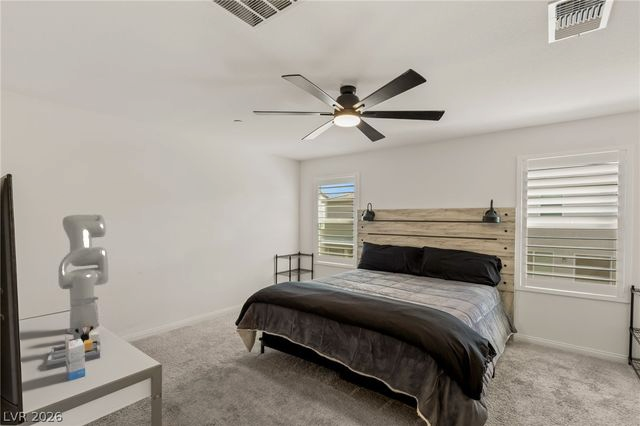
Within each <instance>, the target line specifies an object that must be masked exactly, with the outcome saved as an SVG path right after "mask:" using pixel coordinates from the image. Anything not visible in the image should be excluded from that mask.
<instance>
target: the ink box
mask: <svg viewBox="0 0 640 426" xmlns="http://www.w3.org/2000/svg"><path fill="white" fill-rule="evenodd" d="M64 338H65V344H64V345H65V346H66V366H65V373H66V377H67V378H68V381H73V380H76V379H79V378H82V377H84V376H86V361H85V348H84V343H83V341H82V340H81V339H77V340H74V339H73V340H70V339H69V337H68V336H67V334H65V336H64Z"/></svg>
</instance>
